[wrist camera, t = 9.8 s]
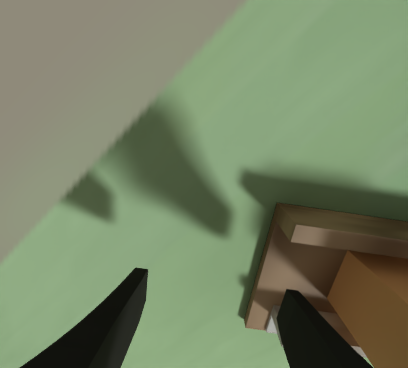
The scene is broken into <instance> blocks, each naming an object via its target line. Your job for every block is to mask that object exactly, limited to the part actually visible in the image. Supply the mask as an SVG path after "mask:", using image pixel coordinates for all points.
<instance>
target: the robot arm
mask: <svg viewBox="0 0 408 368" xmlns="http://www.w3.org/2000/svg"><path fill="white" fill-rule="evenodd" d="M147 277H148V269H142V268H135V269H134V270H133V271H132V272H131V273H130V274H129V275H128V276H127V277H126V279H125V280H124V281H123V282H122V283H121V284H120V285H119V286H118V287H117V288H116V289H115V290H114V291H113V292H112V293H111V294H110V295H109V296H108V297H107V298H106V299H105V300H104V301H103V302H102V303H101V304H99V305H98V306H97V307H96V308H95V309H94V310H93V311H92V312H91V313H89V314H88V315H87V316H86V317H85V318H84V319H83V320H82V321H80V322H79V323H78V324H77V325H76V326H74V327H73V328H72V329H71V330H70V331H68V332H67V333H66V334H64V335H63V336H62V337H61V338H59V339H58V340H57V341H56V342H54V343H53V344H52V345H50V346H49V347H48V348H46V349H45V350H44V351H42V352H41V353H40V354H38V355H37V356H35V357H34V358H33V359H31V360H30V361H28V362H27V363H26V364H24V365H23V366H21V367H20V368H120V367H121V365H122V363H123V360H124V358H125V355H126V353H127V350H128V348H129V346H130V343H131V341H132V338H133V336H134V333H135V331H136V329H137V326H138V324H139V321H140V317H141V314H142V311H143V308H144V304H145V301H146V290H147ZM276 319H277V324H278V329H279V333H280V337H281V342H282V345H283V348H284V351H285V354H286V357H287V360H288V363H289V366H290V368H373V367H372V366H371V365H370V364H369V363H368V362H367V361H366V360H365V359H364V358H363V357H362V356H361V355H360V354H359V353H357V352H356V351H355V350H354V349H353V348H352V347H351V346H350V345H349V344H348V343H347V342H346V341H345V340H344V339H343V338H342V337H341V335H340V334H339V333H338V332H337V331H336V330H335V329H334V328H333V327H332V326H331V325H330V324H329V323H328V322H327V321H326V320H325V319H324V318H323V316H322V315H321V314H320V313H319V312H318V311H317V310H316V309H315V308H314V307H313V306H312V305H311V303H310V302H309V301H308V300H307V299H306V298H305V297H304V296H303V295H302V294H301V293H300V292H299V291H298V290H291V289H286V292H285V295H284V297H283V300H282V303H281V306H280V309H279V312H278V315H277V318H276Z"/></svg>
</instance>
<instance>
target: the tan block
mask: <svg viewBox="0 0 408 368" xmlns="http://www.w3.org/2000/svg"><path fill="white" fill-rule="evenodd" d="M327 299H328V301H329V302H330V303H331V305H332V306H333V308H334V309H335V311H336V312H337V314H338V315H339V317H340V318H341V320H342V321H343V323H344V324H345V325H346V327H347V328H348V330H349V331H350V333H351V334H352V336H353V337H354V339H355V340H356V342H357V343H358V345H359V346H360V347H361V349H362V350H363V352H364V353H365V355H366V356H367V358H368V359H369V361H370V362H371V364H372V365H373V366H374V368H408V259H407V258H400V257H393V256H386V255H379V254H372V253H365V252H357V251H350V250H347V253H346V255H345V257H344V260H343V262H342V264H341V267H340V269H339V271H338V274H337V276H336V278H335V281H334V283H333V285H332V288H331V290H330V292H329V295H328V297H327Z"/></svg>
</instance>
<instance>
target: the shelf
mask: <svg viewBox="0 0 408 368" xmlns="http://www.w3.org/2000/svg"><path fill="white" fill-rule="evenodd" d="M347 250H350V251H357V252H365V253H372V254H379V255H386V256H393V257H400V258H407V259H408V222H406V221H399V220H392V219H385V218H378V217H371V216H365V215H358V214H351V213H344V212H337V211H331V210H324V209H317V208H310V207H303V206H296V205H290V204H283V203H277V204H276V208H275V212H274V215H273V219H272V222H271V226H270V230H269V233H268V237H267V240H266V244H265V247H264V251H263V255H262V258H261V262H260V265H259V269H258V272H257V276H256V280H255V283H254V287H253V290H252V294H251V297H250V301H249V305H248V308H247V312H246V315H245V319H244V322H245V328H251V329H258V330H266V332H269V333H276V334H278V337H279V340H280V343H281V346H282V347H283V345H282V342H281V337H280V333H279V329H278V324H277V319H276V318H277V315H278V312H279V309H280V306H281V303H282V300H283V297H284V295H285V292H286V289H291V290H298V291H299V292H300V293H301V294H302V295H303V296H304V297H305V298H306V299H307V300H308V301H309V302H310V303H311V305H312V306H313V307H314V308H315V309H316V310H317V311H318V312H319V313H320V314H321V315H322V316H323V318H324V319H325V320H326V321H327V322H328V323H329V324H330V325H331V326H332V327H333V328H334V329H335V330H336V331H337V332H338V333H339V334H340V335H341V337H342V338H343V339H344V340H345V341H346V342H347V343H348V344H349V345H350V346H351V347H352V348H353V349H354V350H355V351H356V352H357V353H359V354H360V355H361V356H362V357H367V356H366V355H365V353H364V352H363V350H362V349H361V347H360V346H359V345H358V343H357V342H356V340H355V339H354V337H353V336H352V334H351V333H350V331H349V330H348V328H347V327H346V325H345V324H344V323H343V321H342V320H341V318H340V317H339V315H338V314H337V312H336V311H335V309H334V308H333V306H332V305H331V303H330V302H329V301H328V299H327V297H328V295H329V292H330V290H331V288H332V285H333V283H334V281H335V278H336V276H337V274H338V271H339V269H340V267H341V264H342V262H343V260H344V257H345V255H346V253H347Z"/></svg>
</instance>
